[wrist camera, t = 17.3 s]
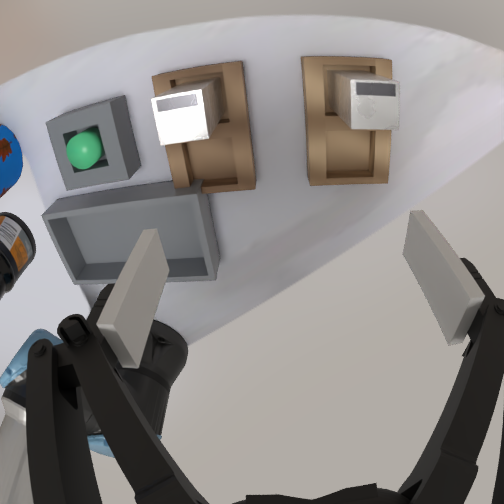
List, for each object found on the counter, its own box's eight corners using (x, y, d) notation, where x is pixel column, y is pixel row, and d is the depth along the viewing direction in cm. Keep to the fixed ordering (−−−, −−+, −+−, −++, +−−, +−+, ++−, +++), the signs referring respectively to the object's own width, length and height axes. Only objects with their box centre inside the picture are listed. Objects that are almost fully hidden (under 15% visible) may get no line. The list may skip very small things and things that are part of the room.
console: (141, 165, 36) (128, 179, 33) (81, 176, 37) (66, 190, 34) (124, 95, 31) (109, 102, 28) (63, 113, 32) (45, 122, 29)
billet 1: (224, 112, 32) (208, 139, 24) (188, 117, 32) (160, 146, 24) (219, 77, 30) (200, 90, 21) (182, 83, 30) (150, 99, 22)
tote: (220, 258, 44) (215, 280, 40) (85, 265, 46) (74, 284, 43) (204, 177, 37) (196, 193, 33) (57, 199, 39) (41, 215, 36)
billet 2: (364, 105, 30) (399, 130, 22) (328, 105, 31) (351, 129, 23) (364, 70, 28) (400, 82, 20) (326, 69, 28) (350, 79, 20)
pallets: (381, 174, 36) (387, 183, 34) (181, 187, 38) (176, 196, 36) (383, 58, 27) (391, 60, 25) (159, 74, 30) (151, 76, 28)
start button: (111, 156, 33) (100, 165, 31) (84, 162, 34) (72, 172, 31) (103, 124, 31) (90, 131, 29) (75, 131, 31) (62, 139, 29)
